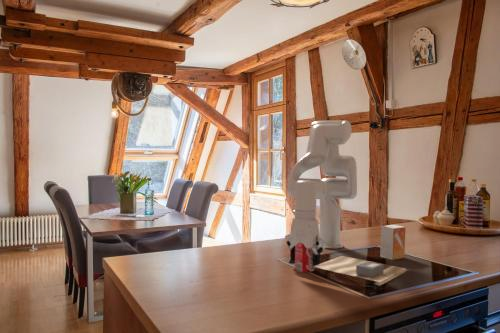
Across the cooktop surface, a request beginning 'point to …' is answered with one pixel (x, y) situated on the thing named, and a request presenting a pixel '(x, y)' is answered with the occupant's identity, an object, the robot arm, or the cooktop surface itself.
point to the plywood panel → (349, 268)
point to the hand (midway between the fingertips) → (304, 262)
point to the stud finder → (369, 269)
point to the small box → (392, 242)
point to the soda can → (303, 258)
